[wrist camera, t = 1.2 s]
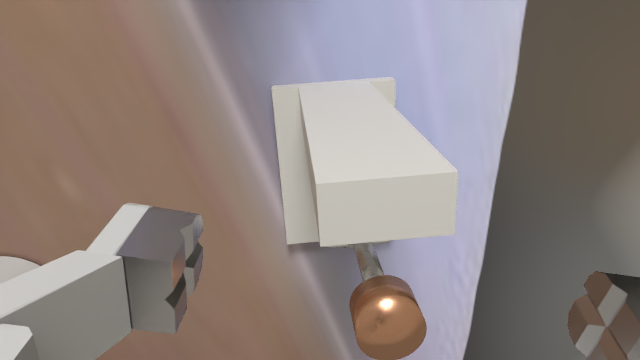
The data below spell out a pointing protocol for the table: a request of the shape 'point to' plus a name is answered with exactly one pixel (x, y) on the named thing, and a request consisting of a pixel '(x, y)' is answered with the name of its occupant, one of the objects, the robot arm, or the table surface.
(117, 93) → the table surface
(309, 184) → the press frame
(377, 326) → the plunger
